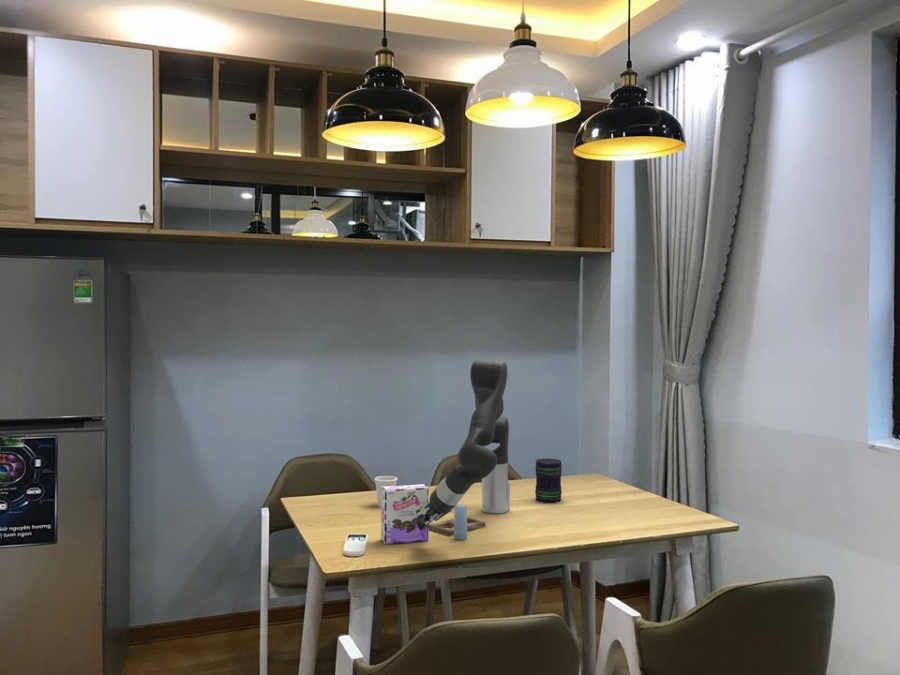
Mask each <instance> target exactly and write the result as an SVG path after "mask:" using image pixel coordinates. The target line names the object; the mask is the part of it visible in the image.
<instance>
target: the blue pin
mask: <svg viewBox="0 0 900 675" xmlns="http://www.w3.org/2000/svg"><path fill="white" fill-rule="evenodd" d="M453 512H454V513H453V519H454V535H453V539H454V540H456V541H466V540H467V539H468V531H467V524H468V523H467V517H468V505H466V504H458V503H457V505H456V506H455V507H454V508H453Z"/></svg>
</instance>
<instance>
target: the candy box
mask: <svg viewBox="0 0 900 675" xmlns="http://www.w3.org/2000/svg"><path fill="white" fill-rule="evenodd" d="M381 490H382V495H381V507H380V513H381V514H380V518H381V519H380V539H381V541H382V543H383V544H384V545H390V544H391V545H392V544H393V545H394V544H404V543H405V544H407V543H418V542H419V543H420V542H429V529H428V526H427V527H426V528H425V530H421V531H420V530H419V528H418V526H417V524H418V523H419V522H420V520H419V519H418V517H417V514H416V511H417V510H418V509H420V510H424V509H425V506H426V505H428V504H429V502H430V496H429V493H430V489H429V487H428V486H427V485H425V483H424V484H410V485H408V484H407V485H396V486H386V487H385V486H382V487H381Z"/></svg>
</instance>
